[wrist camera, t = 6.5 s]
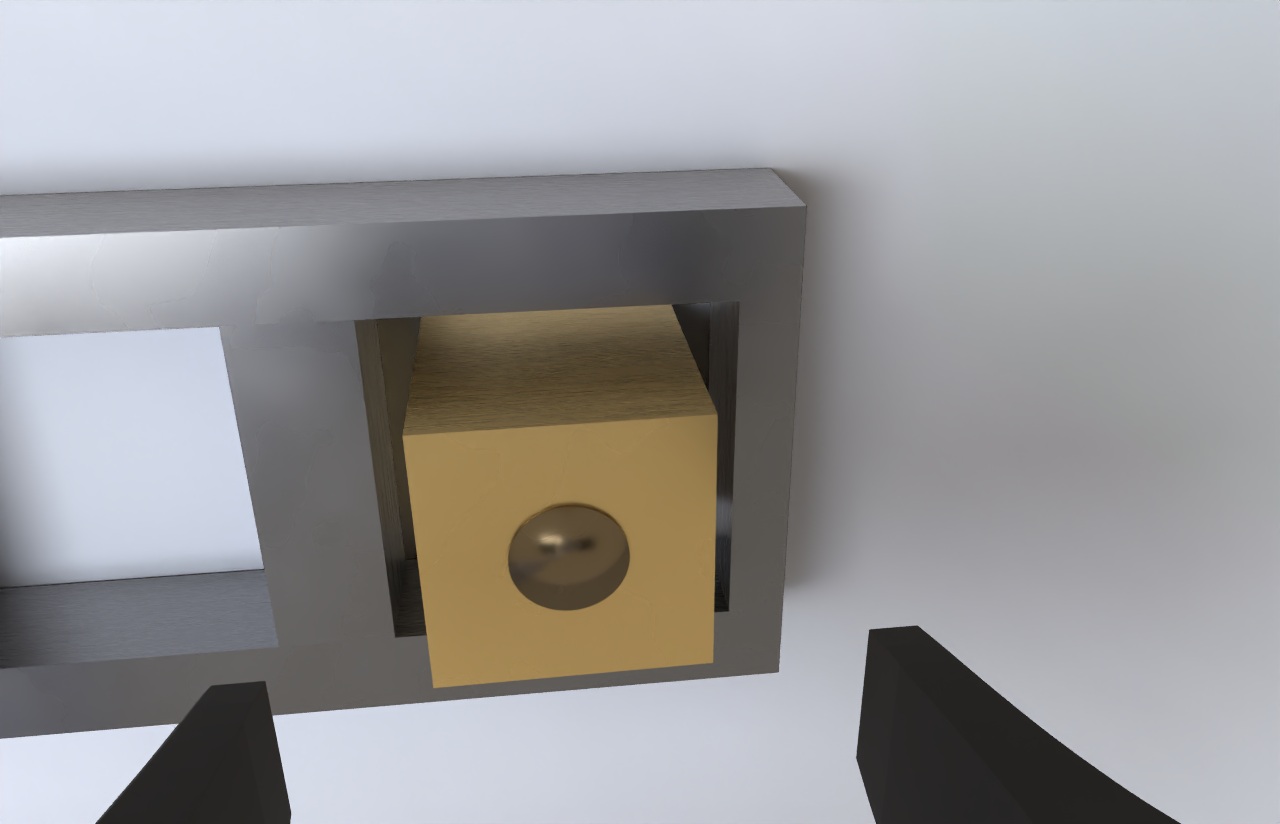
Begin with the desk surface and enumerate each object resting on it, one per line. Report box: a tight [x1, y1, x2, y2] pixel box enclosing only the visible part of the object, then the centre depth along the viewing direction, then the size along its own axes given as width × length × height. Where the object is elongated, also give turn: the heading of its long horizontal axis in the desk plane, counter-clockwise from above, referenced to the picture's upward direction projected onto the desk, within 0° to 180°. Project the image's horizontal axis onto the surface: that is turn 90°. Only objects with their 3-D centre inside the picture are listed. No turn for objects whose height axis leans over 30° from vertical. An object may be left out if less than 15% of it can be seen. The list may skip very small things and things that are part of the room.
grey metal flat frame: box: [0, 168, 807, 739], centre depth 19 cm, size 9×16×2 cm, turn 90°
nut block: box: [402, 304, 718, 688], centre depth 18 cm, size 4×4×5 cm
